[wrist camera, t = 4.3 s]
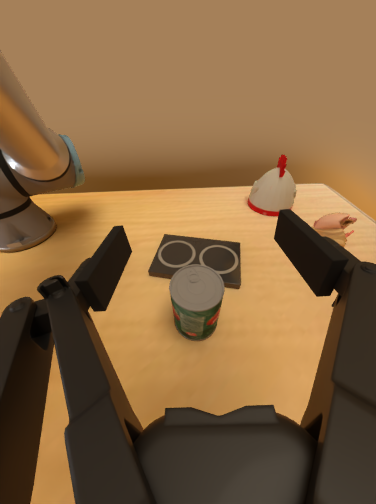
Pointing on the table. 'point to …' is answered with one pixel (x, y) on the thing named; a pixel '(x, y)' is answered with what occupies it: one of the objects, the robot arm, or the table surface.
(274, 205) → the kitchen timer
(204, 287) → the canned tomato
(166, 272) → the hob
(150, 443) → the robot arm
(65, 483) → the table surface
